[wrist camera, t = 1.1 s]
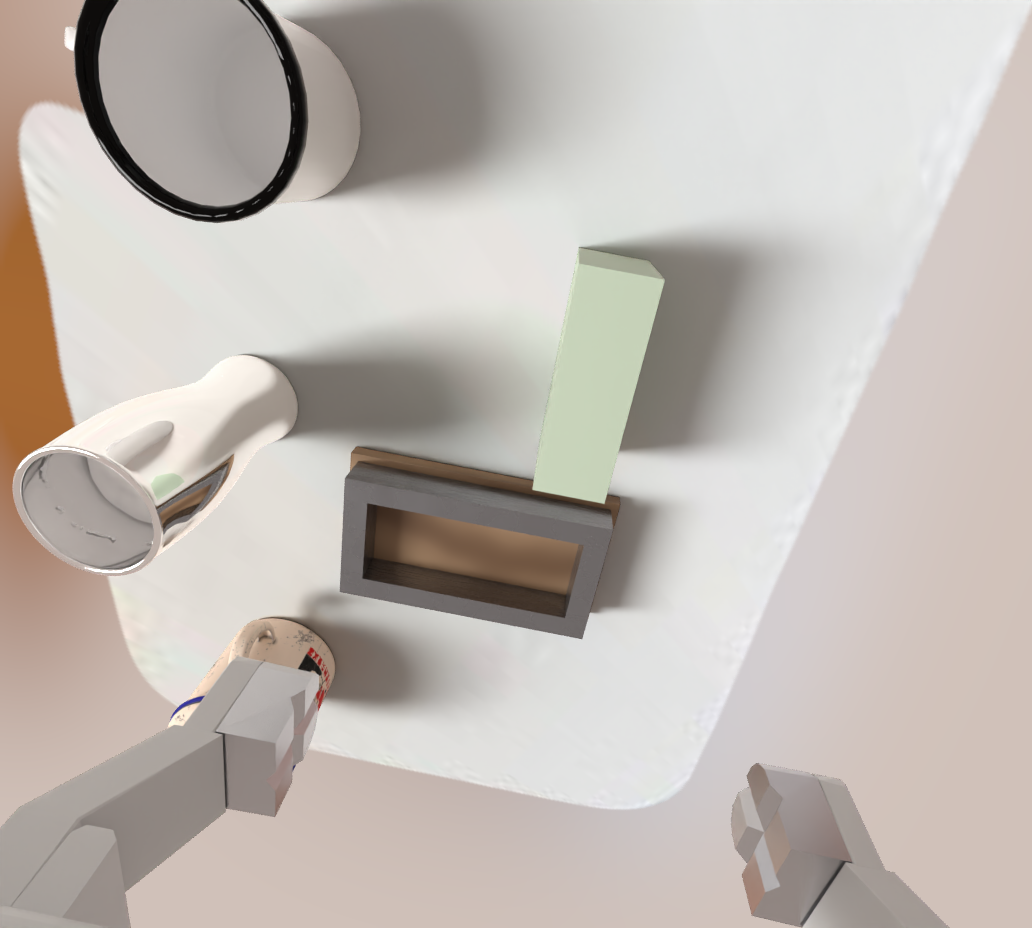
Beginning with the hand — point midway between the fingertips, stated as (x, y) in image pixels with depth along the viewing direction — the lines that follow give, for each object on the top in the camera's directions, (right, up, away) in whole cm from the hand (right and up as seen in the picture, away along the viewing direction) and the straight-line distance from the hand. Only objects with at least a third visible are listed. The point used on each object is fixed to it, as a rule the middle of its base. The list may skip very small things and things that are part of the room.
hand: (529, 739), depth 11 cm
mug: (-14, +24, +21) cm, 35 cm away
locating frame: (-3, 0, +31) cm, 31 cm away
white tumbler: (-17, +9, +29) cm, 35 cm away
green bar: (+4, +12, +25) cm, 28 cm away
